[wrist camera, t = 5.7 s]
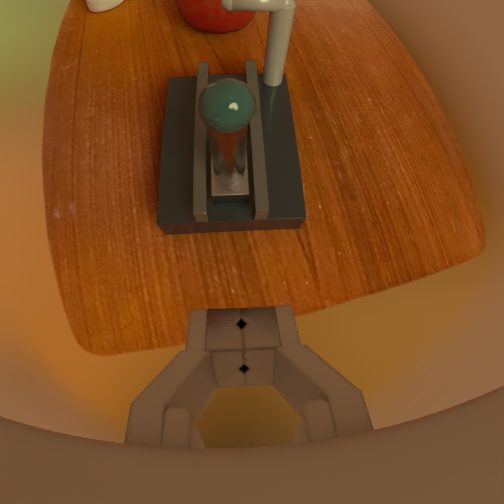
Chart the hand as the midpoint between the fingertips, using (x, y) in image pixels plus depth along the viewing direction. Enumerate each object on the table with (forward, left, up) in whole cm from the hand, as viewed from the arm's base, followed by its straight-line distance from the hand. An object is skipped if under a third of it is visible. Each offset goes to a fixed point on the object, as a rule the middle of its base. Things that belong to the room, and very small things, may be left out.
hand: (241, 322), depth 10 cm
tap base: (0, +16, -17) cm, 23 cm away
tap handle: (0, +11, -14) cm, 18 cm away
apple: (-1, +39, -17) cm, 43 cm away
